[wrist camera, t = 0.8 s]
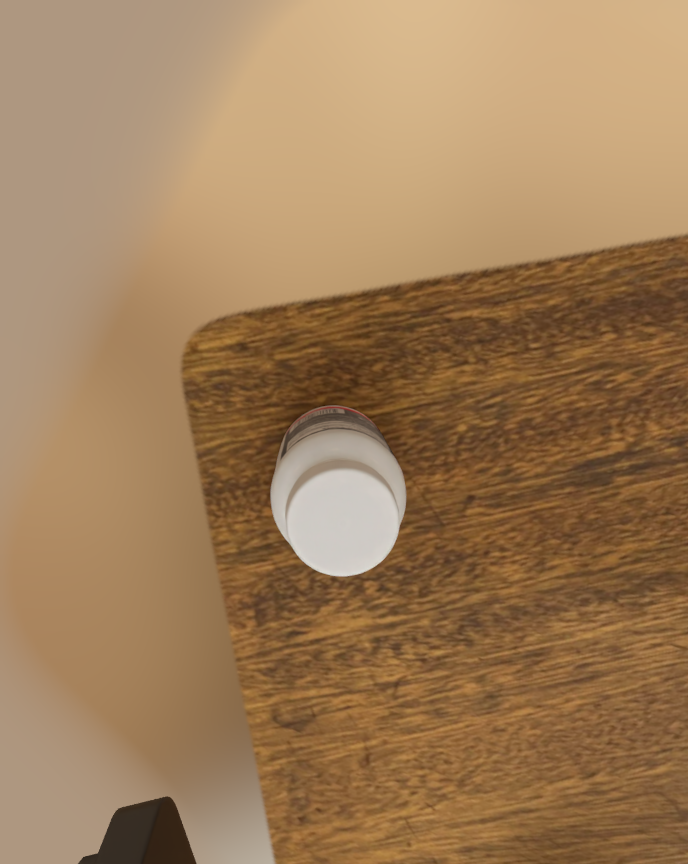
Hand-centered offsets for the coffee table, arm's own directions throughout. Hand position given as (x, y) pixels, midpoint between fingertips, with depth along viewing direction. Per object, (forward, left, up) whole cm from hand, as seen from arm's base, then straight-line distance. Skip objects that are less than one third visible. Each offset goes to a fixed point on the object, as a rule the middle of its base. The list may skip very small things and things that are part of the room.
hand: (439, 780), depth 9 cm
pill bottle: (0, -1, -22) cm, 22 cm away
